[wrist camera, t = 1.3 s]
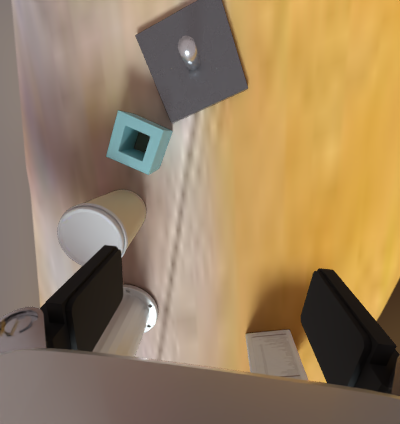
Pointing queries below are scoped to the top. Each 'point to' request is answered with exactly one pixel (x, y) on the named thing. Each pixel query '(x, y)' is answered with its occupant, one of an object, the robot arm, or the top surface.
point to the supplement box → (274, 354)
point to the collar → (126, 139)
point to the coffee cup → (101, 224)
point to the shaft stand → (193, 59)
